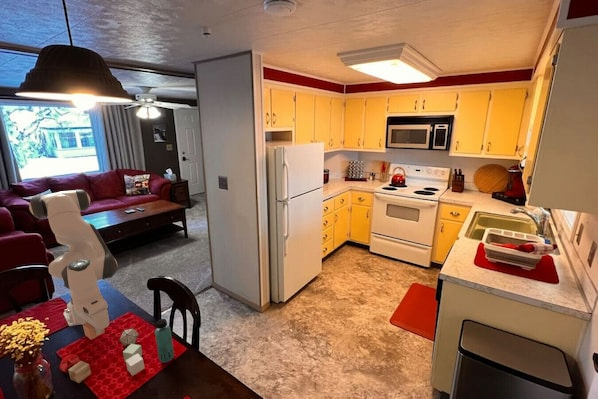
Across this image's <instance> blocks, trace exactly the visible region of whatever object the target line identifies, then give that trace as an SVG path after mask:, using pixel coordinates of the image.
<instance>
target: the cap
mask: <svg viewBox="0 0 598 399" xmlns="http://www.w3.org/2000/svg"><path fill="white" fill-rule="evenodd" d="M80 361H81V360H80V357H79V356H78V354H69V355H66V356H65V357H64V358H63V359H62V360H61V361H60V364H59V370H61V372H63V373H69V371H68V370H69V368H71V366H74V365H75V364H77V363H78V362H80Z"/></svg>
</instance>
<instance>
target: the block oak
mask: <svg viewBox="0 0 598 399" xmlns="http://www.w3.org/2000/svg"><path fill="white" fill-rule="evenodd" d="M79 361H80V362H78V363H77V364H73V365H72V367H71V366H70V367H69V368H68V369H67V370H68V374H69V378H70V380H71V381H73V382H76V383H77V384H80V383H81V382H82V381H84V380H85V379H87V377H89V376H90V375H91V374H92V371H91V367H90V364H89V363H87V362H86V361H83V360H79Z"/></svg>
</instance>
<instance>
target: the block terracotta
mask: <svg viewBox="0 0 598 399" xmlns="http://www.w3.org/2000/svg"><path fill="white" fill-rule="evenodd" d="M82 327H83V331H84V335H85V337H87V338H88V339H90V340H91V341H92V340H94V339H96V338H97V337H99V336H101V335H102V334H105V332H106V331H105V329H103V330H101V331H102V332H101V333H100V334H98V335H97V334H96V333H95V331H94V330H95V327H93V326H92V325H90V324H89V323H88V322H87V323H85V324H82Z"/></svg>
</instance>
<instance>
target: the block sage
mask: <svg viewBox="0 0 598 399" xmlns="http://www.w3.org/2000/svg"><path fill="white" fill-rule="evenodd" d="M137 353H138V354H139V355H140V356H141V357H142V355H143V349H142V345H141V344H130V345H128V346H127V347H126V348H125V349H124V350H123V351H122V356H123V361H124V362H126V361H125V360H127V359H129V358H130V357H132V356H134V355H136V354H137Z"/></svg>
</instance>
